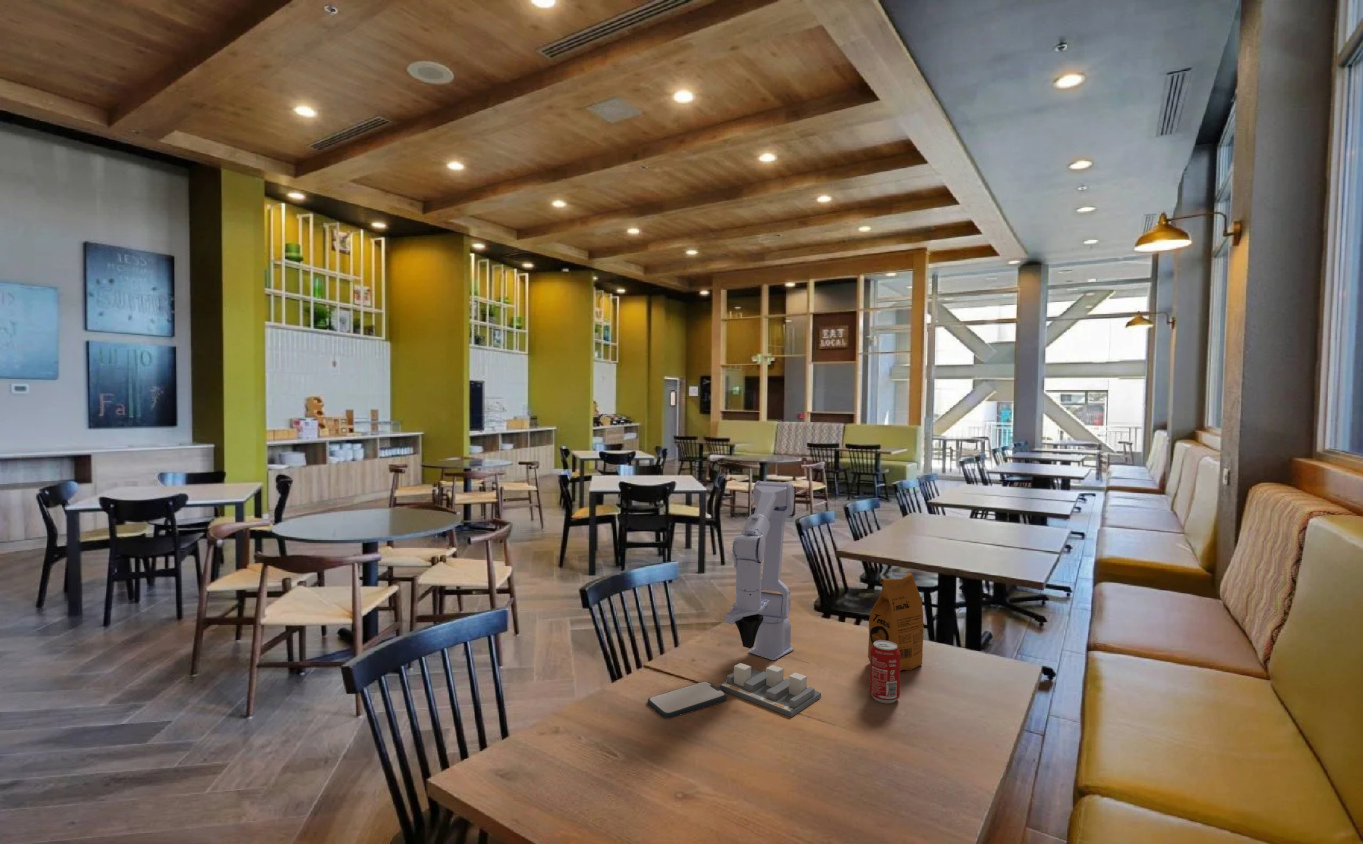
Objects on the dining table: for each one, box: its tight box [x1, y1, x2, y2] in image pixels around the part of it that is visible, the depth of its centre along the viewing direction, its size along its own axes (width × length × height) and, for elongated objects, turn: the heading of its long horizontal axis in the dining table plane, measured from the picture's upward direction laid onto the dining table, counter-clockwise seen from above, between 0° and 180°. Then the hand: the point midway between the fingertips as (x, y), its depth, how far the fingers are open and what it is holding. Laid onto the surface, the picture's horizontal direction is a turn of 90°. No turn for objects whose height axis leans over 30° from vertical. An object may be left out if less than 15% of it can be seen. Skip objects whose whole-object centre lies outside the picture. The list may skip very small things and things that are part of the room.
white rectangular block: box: [765, 664, 784, 687], centre depth 146 cm, size 2×3×4 cm
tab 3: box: [788, 672, 808, 696], centre depth 142 cm, size 2×3×4 cm
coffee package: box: [867, 572, 924, 672], centre depth 160 cm, size 10×12×22 cm
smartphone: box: [647, 681, 727, 719], centre depth 140 cm, size 9×2×16 cm
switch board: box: [718, 666, 822, 718], centre depth 144 cm, size 12×19×2 cm, turn 48°
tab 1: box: [733, 662, 752, 687], centre depth 147 cm, size 2×3×4 cm
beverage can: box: [869, 640, 901, 704], centre depth 142 cm, size 6×6×12 cm
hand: (748, 646), depth 148 cm, fingers closed
